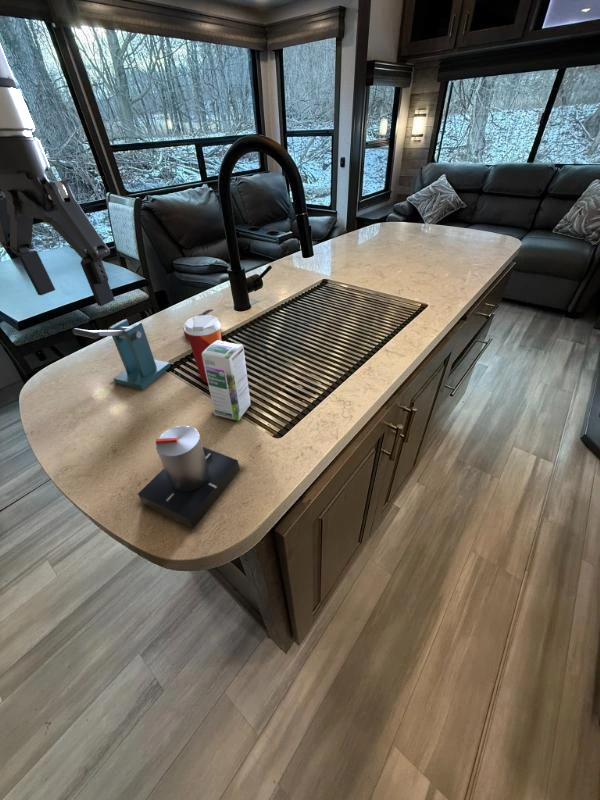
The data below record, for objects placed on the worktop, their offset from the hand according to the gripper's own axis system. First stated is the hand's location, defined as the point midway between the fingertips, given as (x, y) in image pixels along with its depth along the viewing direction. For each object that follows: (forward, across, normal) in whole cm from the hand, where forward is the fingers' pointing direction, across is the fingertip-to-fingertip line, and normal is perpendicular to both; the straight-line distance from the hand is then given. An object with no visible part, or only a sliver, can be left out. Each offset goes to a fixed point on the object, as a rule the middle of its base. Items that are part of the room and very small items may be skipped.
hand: (75, 297), depth 55 cm
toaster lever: (+12, -4, +6) cm, 14 cm away
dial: (+21, +26, -12) cm, 36 cm away
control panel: (+24, +26, -12) cm, 37 cm away
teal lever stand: (+24, -4, +11) cm, 26 cm away
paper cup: (+24, +12, +16) cm, 31 cm away
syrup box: (+24, +22, +7) cm, 33 cm away
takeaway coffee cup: (+24, -3, +33) cm, 41 cm away
